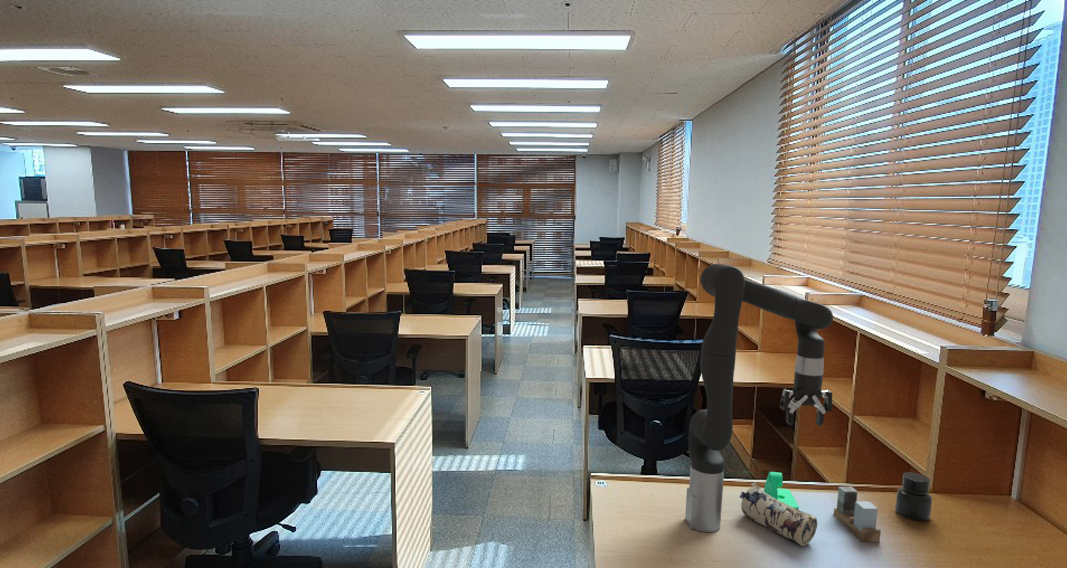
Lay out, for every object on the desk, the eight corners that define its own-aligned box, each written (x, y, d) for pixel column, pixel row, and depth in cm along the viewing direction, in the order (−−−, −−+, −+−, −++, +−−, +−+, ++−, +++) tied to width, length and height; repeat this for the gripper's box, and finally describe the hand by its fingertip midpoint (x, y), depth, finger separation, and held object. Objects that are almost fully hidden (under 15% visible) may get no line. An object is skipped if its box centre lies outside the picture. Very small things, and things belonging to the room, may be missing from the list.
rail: (861, 541, 166) (864, 511, 165) (833, 514, 181) (836, 485, 180) (879, 542, 166) (882, 511, 165) (849, 514, 181) (852, 486, 180)
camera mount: (798, 516, 180) (801, 483, 178) (772, 513, 181) (774, 480, 180) (788, 497, 191) (791, 466, 190) (763, 494, 193) (766, 464, 191)
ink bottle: (938, 520, 179) (942, 482, 177) (916, 524, 176) (920, 486, 174) (908, 504, 188) (912, 468, 186) (887, 508, 185) (891, 471, 184)
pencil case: (736, 516, 178) (738, 485, 177) (755, 509, 183) (757, 479, 181) (801, 553, 160) (804, 519, 159) (821, 545, 164) (824, 511, 163)
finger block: (861, 532, 167) (863, 508, 166) (853, 524, 171) (855, 501, 170) (875, 532, 167) (877, 508, 166) (866, 524, 171) (869, 501, 170)
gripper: (790, 374, 170) (786, 429, 173) (839, 375, 171) (834, 429, 173) (779, 367, 178) (775, 419, 180) (826, 368, 178) (821, 420, 180)
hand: (804, 424), depth 176 cm, fingers open, 8 cm apart
